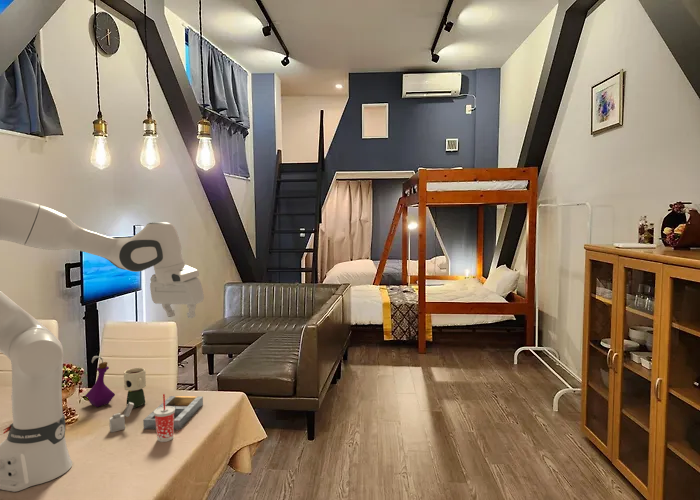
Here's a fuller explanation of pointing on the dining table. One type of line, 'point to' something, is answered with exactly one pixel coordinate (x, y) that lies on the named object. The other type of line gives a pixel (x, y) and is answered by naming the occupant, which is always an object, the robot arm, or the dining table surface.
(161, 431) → the beverage cup
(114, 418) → the lighter
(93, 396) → the perfume bottle
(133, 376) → the character mug
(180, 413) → the gray divided tray
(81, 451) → the dining table surface
